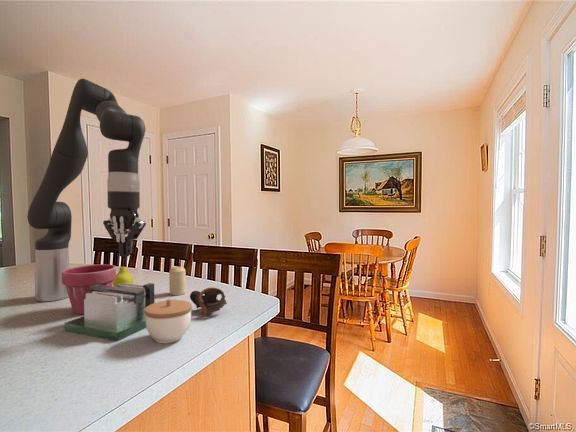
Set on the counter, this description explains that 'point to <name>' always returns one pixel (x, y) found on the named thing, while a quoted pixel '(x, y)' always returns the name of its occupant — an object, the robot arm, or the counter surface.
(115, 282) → the fruit
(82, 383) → the counter surface
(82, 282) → the plant pot
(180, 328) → the lidded jar
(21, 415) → the counter surface
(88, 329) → the heat sink board
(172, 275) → the candle
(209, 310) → the brown glossy rounded piece
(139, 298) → the grey long bar
